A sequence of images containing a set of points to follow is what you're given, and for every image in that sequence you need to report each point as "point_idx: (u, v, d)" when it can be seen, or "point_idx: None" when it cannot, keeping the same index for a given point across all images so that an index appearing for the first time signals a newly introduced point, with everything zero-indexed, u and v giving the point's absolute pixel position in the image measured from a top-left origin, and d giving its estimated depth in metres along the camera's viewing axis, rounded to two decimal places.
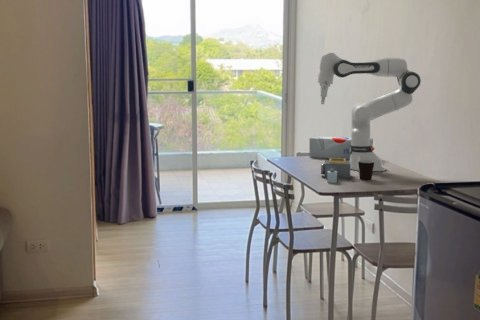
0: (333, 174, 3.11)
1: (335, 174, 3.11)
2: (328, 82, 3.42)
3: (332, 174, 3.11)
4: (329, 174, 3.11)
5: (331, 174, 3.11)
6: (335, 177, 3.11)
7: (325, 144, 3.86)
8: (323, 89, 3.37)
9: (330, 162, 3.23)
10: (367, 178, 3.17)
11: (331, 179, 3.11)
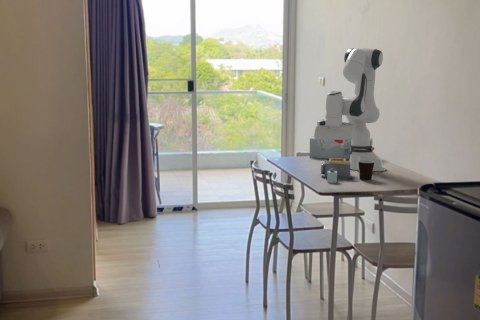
0: (333, 174, 3.11)
1: (335, 174, 3.11)
2: None
3: (332, 174, 3.11)
4: (329, 174, 3.11)
5: (331, 174, 3.11)
6: (335, 177, 3.11)
7: (326, 144, 3.85)
8: (352, 131, 3.07)
9: (330, 162, 3.23)
10: (367, 178, 3.17)
11: (331, 179, 3.11)
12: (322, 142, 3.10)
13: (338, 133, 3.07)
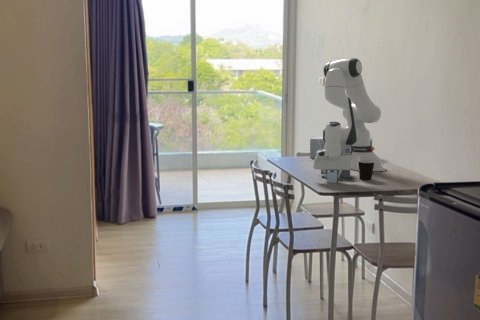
0: (333, 174, 3.11)
1: (335, 174, 3.11)
2: None
3: (332, 174, 3.11)
4: (329, 174, 3.11)
5: (331, 174, 3.11)
6: (335, 177, 3.11)
7: None
8: (351, 162, 3.10)
9: None
10: (367, 178, 3.17)
11: (331, 179, 3.11)
12: (324, 172, 3.13)
13: (337, 163, 3.10)
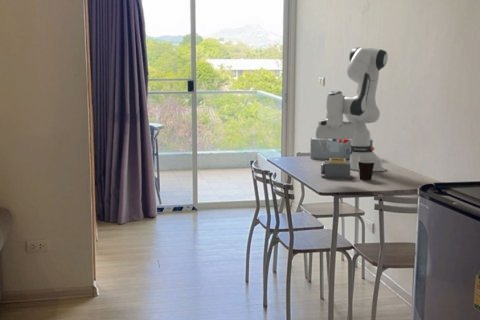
0: (335, 143, 3.12)
1: (337, 143, 3.12)
2: None
3: (334, 143, 3.12)
4: (331, 143, 3.12)
5: (333, 143, 3.12)
6: (337, 146, 3.12)
7: None
8: (353, 130, 3.11)
9: (330, 162, 3.23)
10: (367, 178, 3.17)
11: (334, 148, 3.12)
12: (326, 141, 3.14)
13: (339, 132, 3.11)
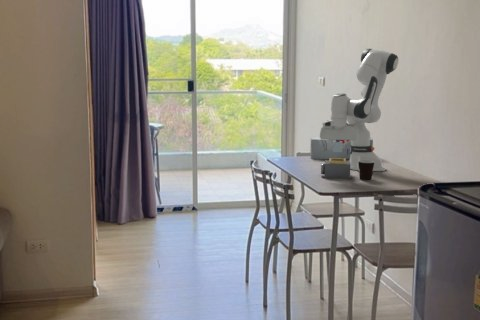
0: (338, 144, 3.22)
1: (340, 144, 3.22)
2: None
3: (337, 143, 3.22)
4: (335, 143, 3.23)
5: (337, 143, 3.22)
6: (340, 146, 3.22)
7: (328, 145, 3.82)
8: (356, 132, 3.22)
9: (330, 162, 3.23)
10: (367, 178, 3.17)
11: (337, 149, 3.23)
12: (330, 142, 3.24)
13: (343, 133, 3.22)
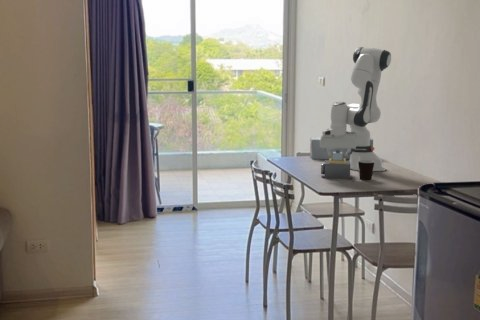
0: (339, 155, 3.24)
1: (340, 155, 3.23)
2: None
3: (338, 155, 3.24)
4: (335, 155, 3.24)
5: (337, 155, 3.24)
6: (340, 158, 3.24)
7: None
8: (355, 140, 3.23)
9: (330, 162, 3.23)
10: (367, 178, 3.17)
11: (337, 160, 3.24)
12: (327, 150, 3.26)
13: (343, 142, 3.23)
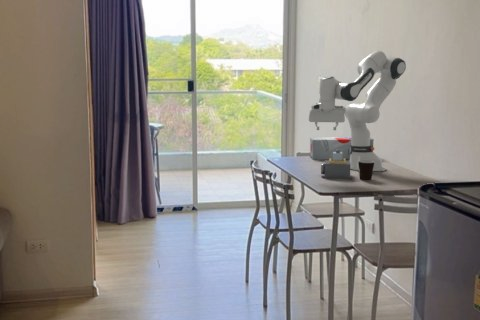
0: (339, 155, 3.24)
1: (340, 155, 3.23)
2: None
3: (338, 155, 3.24)
4: (335, 155, 3.24)
5: (337, 155, 3.24)
6: (340, 158, 3.24)
7: (329, 145, 3.81)
8: None
9: (330, 162, 3.23)
10: (367, 178, 3.17)
11: (337, 160, 3.24)
12: (316, 125, 3.29)
13: (331, 116, 3.27)
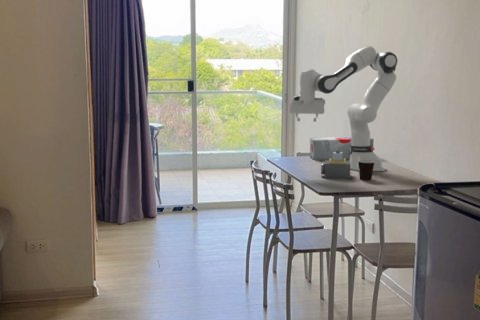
0: (339, 155, 3.24)
1: (340, 155, 3.23)
2: None
3: (338, 155, 3.24)
4: (335, 155, 3.24)
5: (337, 155, 3.24)
6: (340, 158, 3.24)
7: (331, 145, 3.81)
8: None
9: (330, 162, 3.23)
10: (367, 178, 3.17)
11: (337, 160, 3.24)
12: (297, 116, 3.41)
13: (311, 107, 3.38)
